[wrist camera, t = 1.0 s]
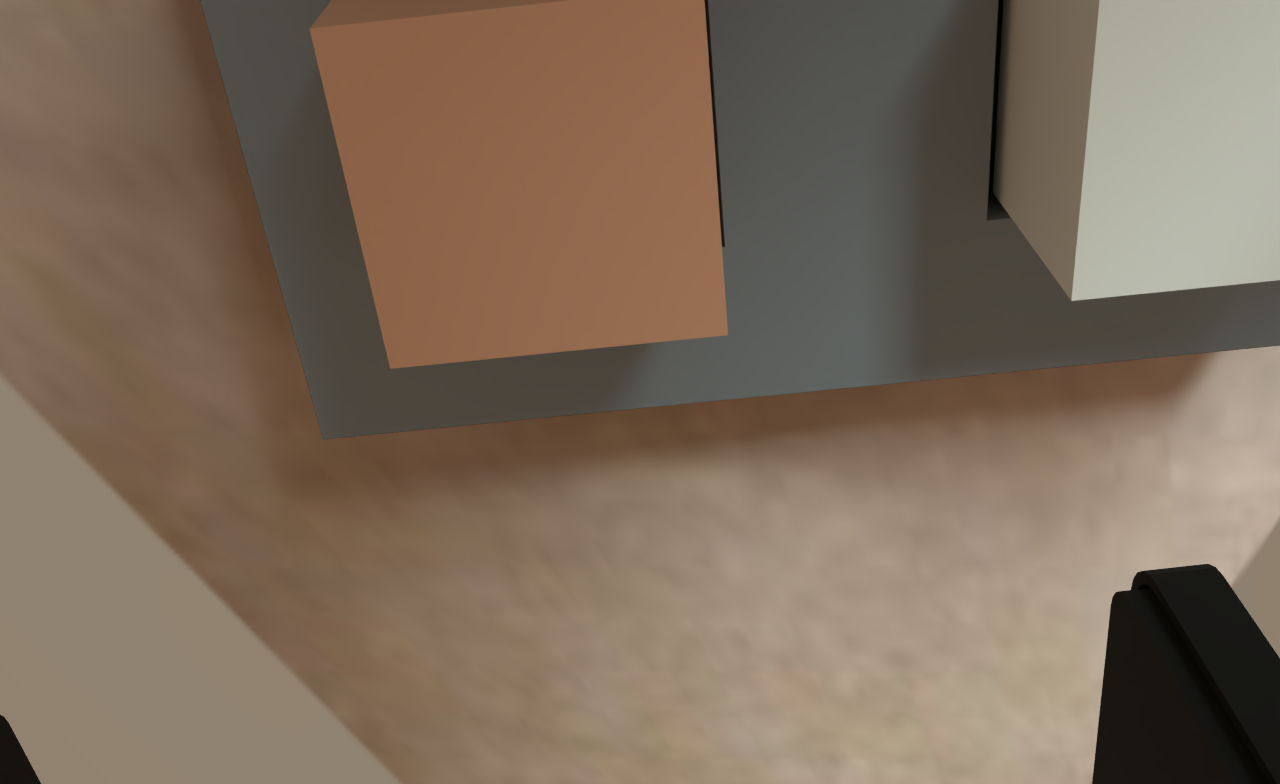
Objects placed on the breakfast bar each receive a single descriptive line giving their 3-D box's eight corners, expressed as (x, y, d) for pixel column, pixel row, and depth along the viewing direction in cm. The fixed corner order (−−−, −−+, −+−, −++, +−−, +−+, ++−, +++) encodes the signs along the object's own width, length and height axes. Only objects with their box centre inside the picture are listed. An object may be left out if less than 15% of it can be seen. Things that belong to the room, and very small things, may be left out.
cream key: (1009, -113, 22) (1105, -58, 18) (1339, -149, 22) (1514, -102, 18) (992, 192, 26) (1070, 300, 21) (1282, 163, 25) (1420, 266, 21)
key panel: (209, -278, 25) (126, -263, 20) (1421, -418, 24) (1600, -433, 20) (360, 333, 32) (323, 439, 27) (1293, 239, 31) (1404, 333, 27)
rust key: (364, -42, 23) (309, 28, 19) (684, -77, 23) (703, -14, 18) (425, 250, 26) (389, 368, 22) (707, 222, 26) (728, 335, 21)
